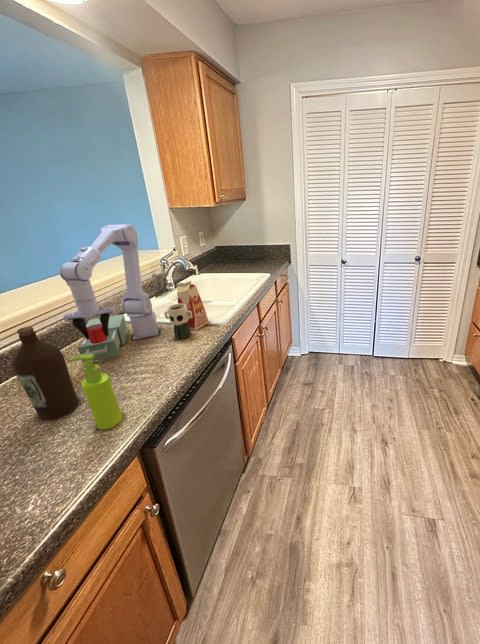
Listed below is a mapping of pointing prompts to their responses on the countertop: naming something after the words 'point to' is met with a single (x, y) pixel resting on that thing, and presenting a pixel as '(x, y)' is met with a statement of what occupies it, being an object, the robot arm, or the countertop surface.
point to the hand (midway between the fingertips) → (97, 336)
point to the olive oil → (44, 376)
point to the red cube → (96, 334)
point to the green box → (114, 326)
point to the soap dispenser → (99, 393)
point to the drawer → (102, 346)
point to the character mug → (179, 319)
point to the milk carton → (192, 305)
